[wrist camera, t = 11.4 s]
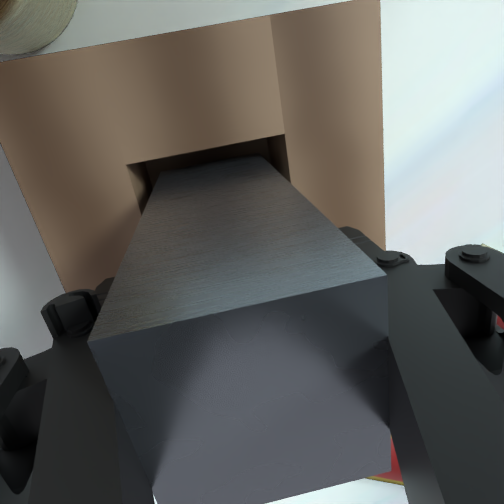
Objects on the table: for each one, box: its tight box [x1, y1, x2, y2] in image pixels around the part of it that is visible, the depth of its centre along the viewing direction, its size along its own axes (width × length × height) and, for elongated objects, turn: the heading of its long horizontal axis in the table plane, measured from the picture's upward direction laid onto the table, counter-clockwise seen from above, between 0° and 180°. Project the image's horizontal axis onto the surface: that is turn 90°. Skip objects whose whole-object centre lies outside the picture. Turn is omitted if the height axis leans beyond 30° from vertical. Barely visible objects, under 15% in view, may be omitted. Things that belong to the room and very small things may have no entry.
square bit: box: [87, 153, 391, 504], centre depth 13 cm, size 5×5×14 cm
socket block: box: [0, 0, 386, 293], centre depth 20 cm, size 16×16×6 cm
